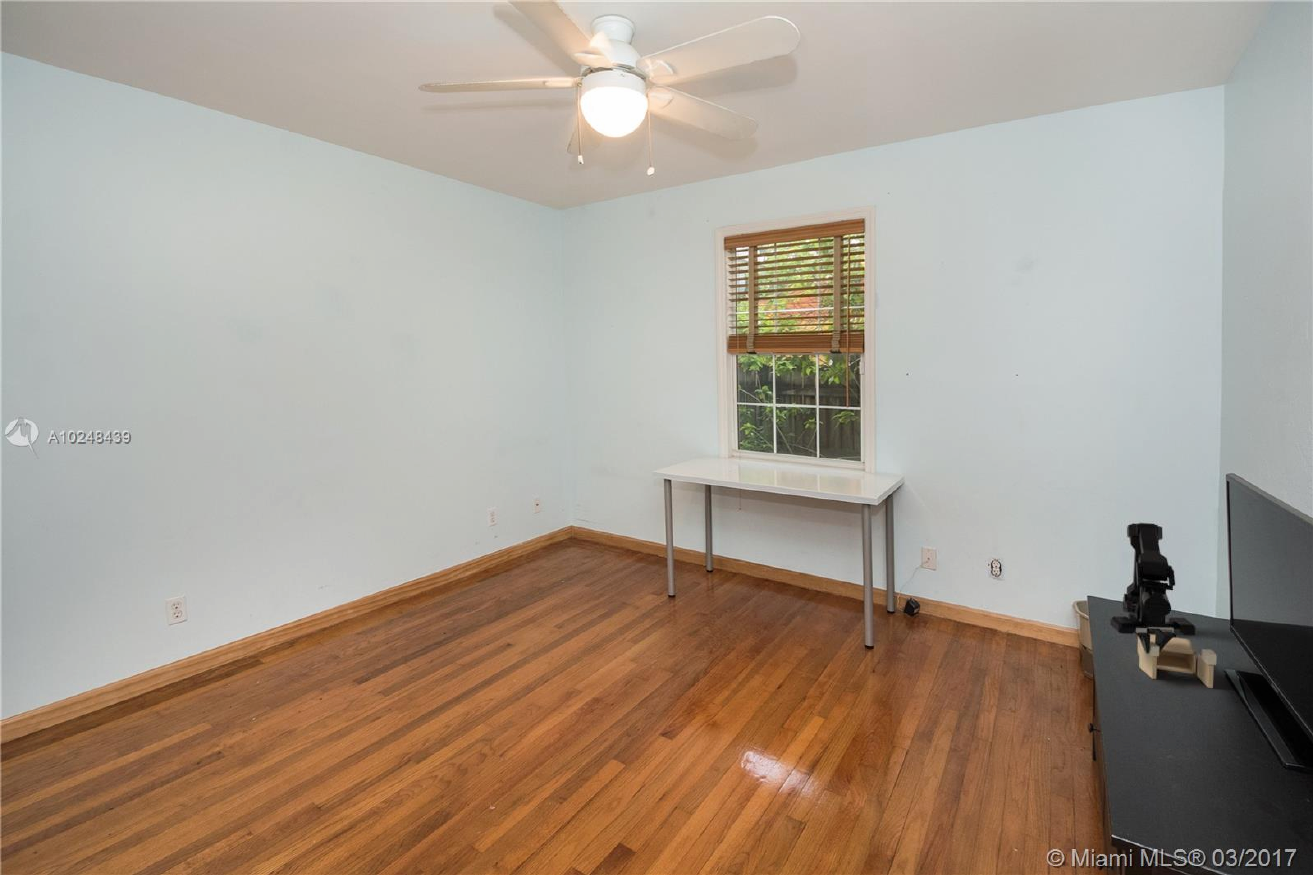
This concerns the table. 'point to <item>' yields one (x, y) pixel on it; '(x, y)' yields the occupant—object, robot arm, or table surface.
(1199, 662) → the flap open
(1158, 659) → the carton
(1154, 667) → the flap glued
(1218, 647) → the table surface
